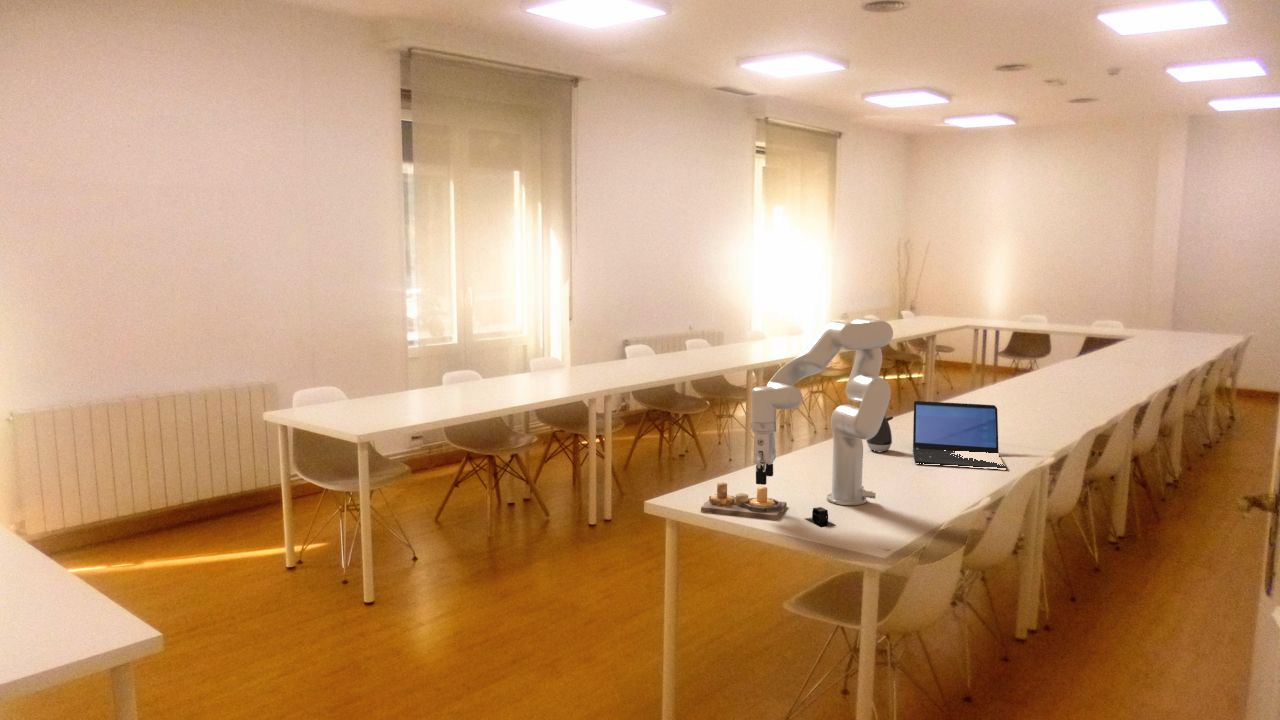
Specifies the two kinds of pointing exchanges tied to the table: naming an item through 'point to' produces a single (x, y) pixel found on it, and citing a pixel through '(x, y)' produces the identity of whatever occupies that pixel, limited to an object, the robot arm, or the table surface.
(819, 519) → the black slotted bracket
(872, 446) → the pump dispenser
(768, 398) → the robot arm
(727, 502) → the carrier
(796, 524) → the table surface
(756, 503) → the gear
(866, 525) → the table surface
